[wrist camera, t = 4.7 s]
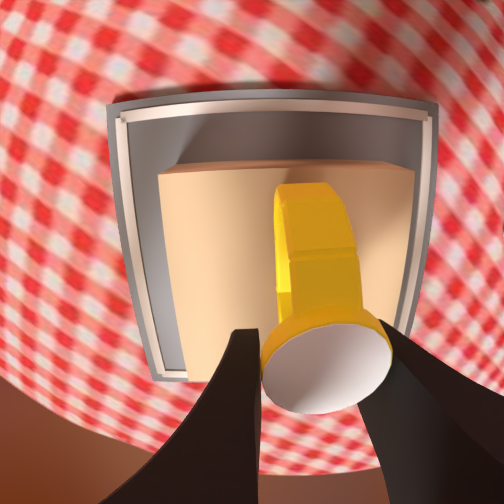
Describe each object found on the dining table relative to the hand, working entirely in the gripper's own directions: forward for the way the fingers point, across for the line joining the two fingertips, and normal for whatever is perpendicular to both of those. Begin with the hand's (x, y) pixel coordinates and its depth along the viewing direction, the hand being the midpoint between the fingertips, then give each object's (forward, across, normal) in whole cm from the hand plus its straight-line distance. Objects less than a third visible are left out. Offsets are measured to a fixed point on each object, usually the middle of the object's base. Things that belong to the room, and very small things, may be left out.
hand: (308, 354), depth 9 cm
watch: (+4, 0, -2) cm, 4 cm away
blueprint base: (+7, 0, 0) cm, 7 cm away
